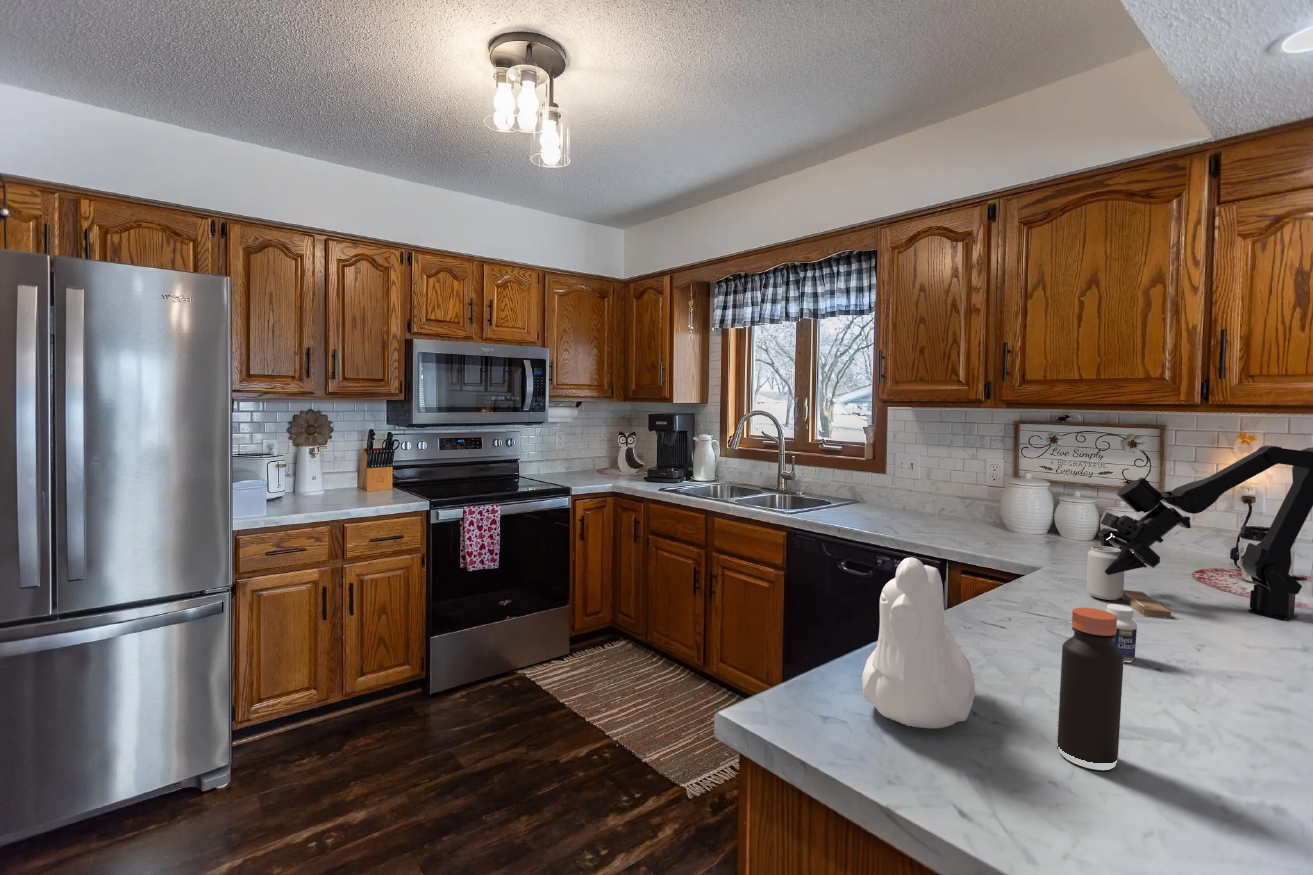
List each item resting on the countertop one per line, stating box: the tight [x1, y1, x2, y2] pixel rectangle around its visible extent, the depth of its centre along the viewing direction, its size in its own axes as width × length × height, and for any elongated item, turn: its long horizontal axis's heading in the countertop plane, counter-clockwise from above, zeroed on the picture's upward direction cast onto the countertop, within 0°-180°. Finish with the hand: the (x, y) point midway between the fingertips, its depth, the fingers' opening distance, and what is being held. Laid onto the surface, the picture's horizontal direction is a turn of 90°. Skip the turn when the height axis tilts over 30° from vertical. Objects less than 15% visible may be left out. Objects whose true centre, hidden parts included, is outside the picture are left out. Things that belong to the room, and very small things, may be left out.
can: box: [1085, 545, 1125, 601], centre depth 155 cm, size 8×8×12 cm
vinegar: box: [1056, 607, 1124, 763], centre depth 85 cm, size 7×7×20 cm
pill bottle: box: [1106, 603, 1138, 661], centre depth 119 cm, size 5×5×10 cm
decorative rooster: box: [861, 557, 976, 729], centre depth 98 cm, size 25×16×25 cm, turn 135°
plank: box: [1120, 589, 1172, 619], centre depth 150 cm, size 16×5×2 cm, turn 161°
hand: (1098, 569), depth 156 cm, fingers closed on can, 7 cm apart
